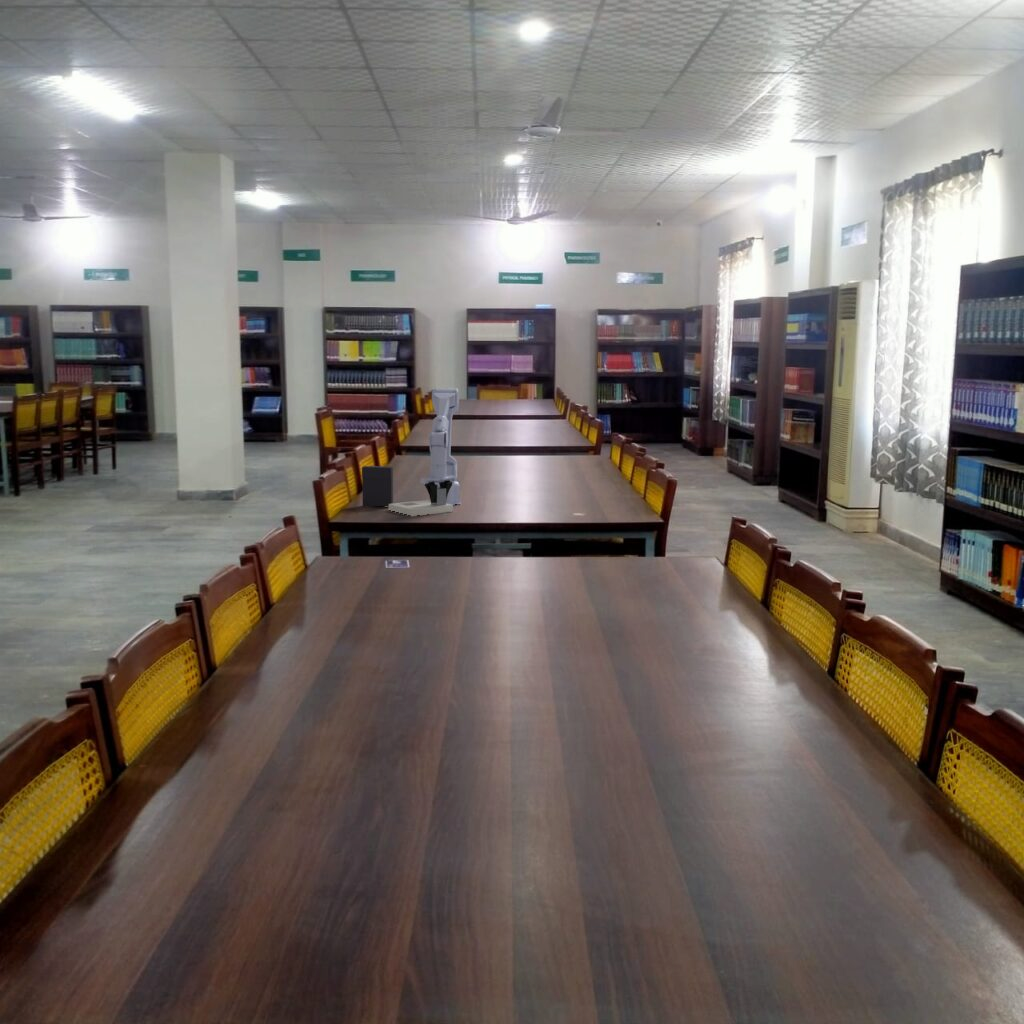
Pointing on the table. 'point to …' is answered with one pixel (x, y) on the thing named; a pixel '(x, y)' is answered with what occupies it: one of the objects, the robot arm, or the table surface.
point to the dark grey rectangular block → (377, 485)
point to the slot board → (420, 508)
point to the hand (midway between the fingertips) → (438, 502)
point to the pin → (440, 497)
